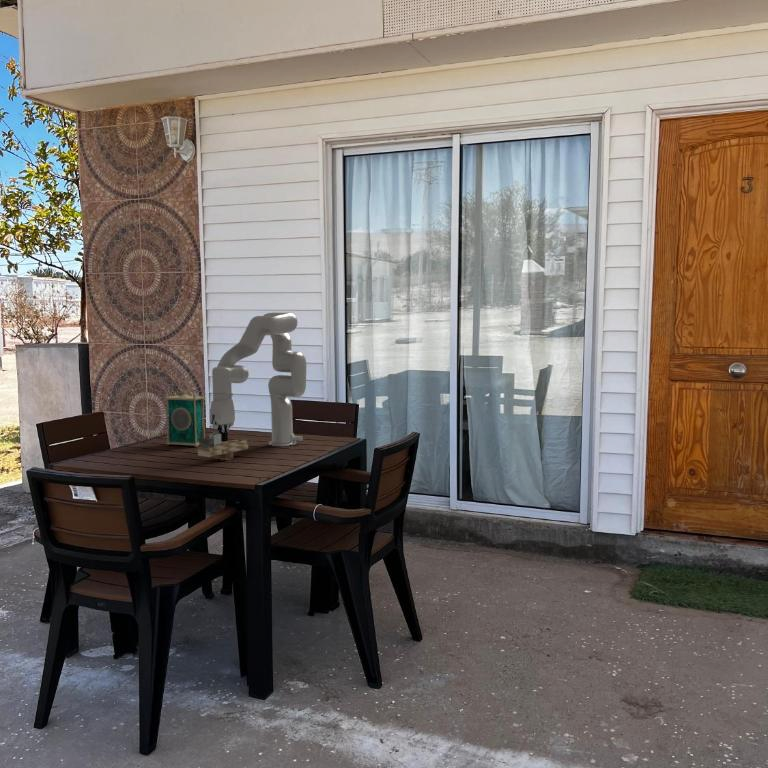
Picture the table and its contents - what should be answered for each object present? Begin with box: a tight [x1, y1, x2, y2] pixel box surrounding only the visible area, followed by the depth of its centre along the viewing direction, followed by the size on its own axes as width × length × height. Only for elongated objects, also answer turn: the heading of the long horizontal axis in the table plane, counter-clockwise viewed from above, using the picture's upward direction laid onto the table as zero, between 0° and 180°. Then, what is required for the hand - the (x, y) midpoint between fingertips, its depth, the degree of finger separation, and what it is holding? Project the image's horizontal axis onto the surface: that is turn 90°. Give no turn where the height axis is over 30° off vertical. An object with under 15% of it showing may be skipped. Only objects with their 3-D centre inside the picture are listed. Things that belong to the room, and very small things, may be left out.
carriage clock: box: [163, 379, 207, 448], centre depth 345 cm, size 17×9×30 cm, turn 70°
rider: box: [209, 430, 222, 447], centre depth 308 cm, size 4×2×7 cm, turn 145°
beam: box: [197, 437, 249, 461], centre depth 312 cm, size 22×7×10 cm, turn 145°
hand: (223, 441), depth 311 cm, fingers closed
